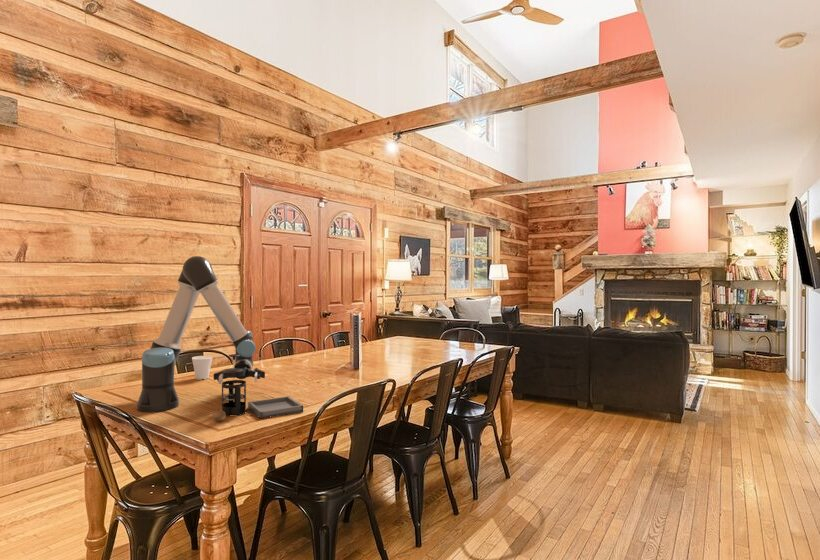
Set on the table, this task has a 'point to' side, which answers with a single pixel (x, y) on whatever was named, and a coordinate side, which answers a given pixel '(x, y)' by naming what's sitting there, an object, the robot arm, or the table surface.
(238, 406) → the french press
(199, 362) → the cup
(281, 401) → the tray
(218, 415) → the wooden ball
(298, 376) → the table surface
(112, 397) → the table surface
